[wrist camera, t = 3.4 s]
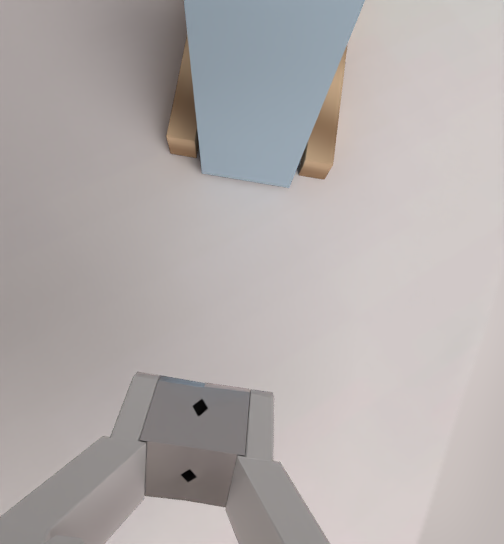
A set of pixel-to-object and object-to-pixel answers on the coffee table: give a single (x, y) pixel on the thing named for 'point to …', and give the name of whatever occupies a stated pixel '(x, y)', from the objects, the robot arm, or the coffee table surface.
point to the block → (262, 80)
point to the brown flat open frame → (318, 146)
